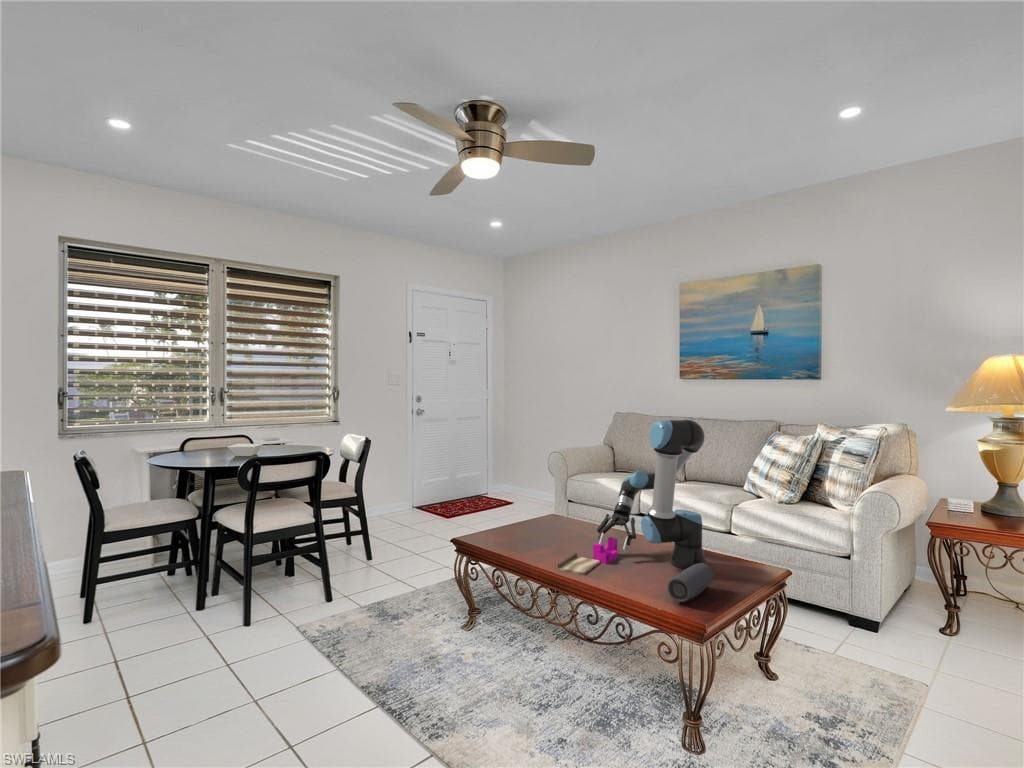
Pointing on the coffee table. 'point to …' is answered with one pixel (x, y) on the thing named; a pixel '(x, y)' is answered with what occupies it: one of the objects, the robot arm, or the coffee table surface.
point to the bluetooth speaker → (690, 582)
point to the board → (577, 564)
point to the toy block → (605, 551)
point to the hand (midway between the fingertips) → (611, 548)
